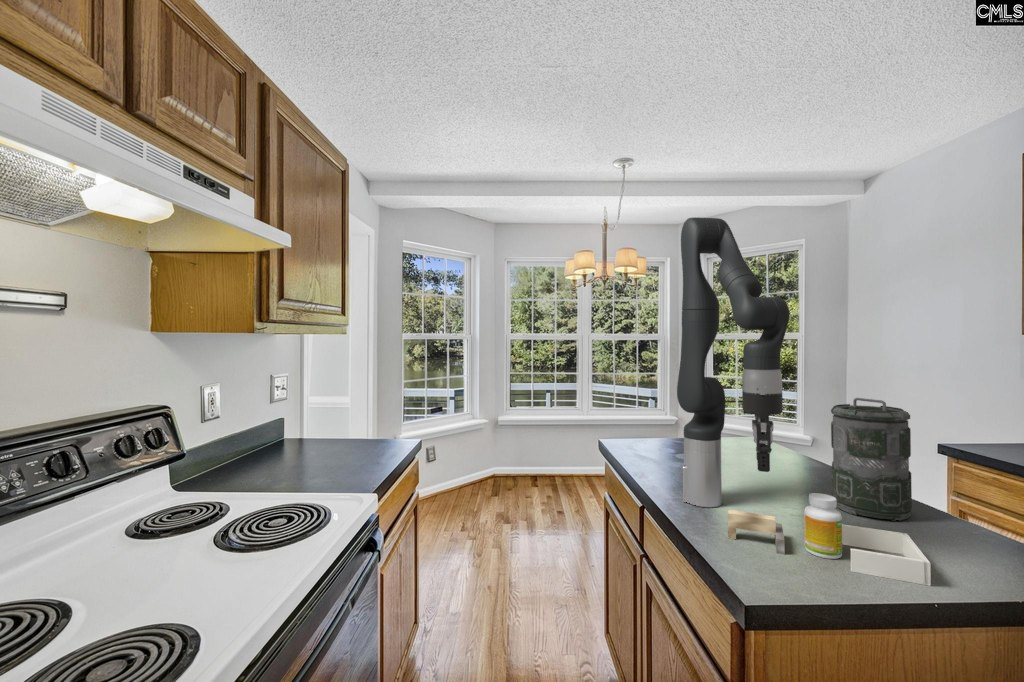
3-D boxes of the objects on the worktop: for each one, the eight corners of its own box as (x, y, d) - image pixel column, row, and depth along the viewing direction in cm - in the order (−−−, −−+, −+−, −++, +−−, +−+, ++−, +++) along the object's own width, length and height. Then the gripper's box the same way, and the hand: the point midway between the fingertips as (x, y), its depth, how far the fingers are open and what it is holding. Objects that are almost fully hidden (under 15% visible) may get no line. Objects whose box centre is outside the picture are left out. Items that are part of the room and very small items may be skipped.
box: (851, 571, 85) (851, 549, 85) (839, 542, 97) (838, 523, 97) (930, 585, 80) (930, 563, 80) (907, 553, 92) (906, 533, 92)
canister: (817, 504, 119) (816, 397, 119) (856, 496, 125) (855, 394, 125) (886, 526, 105) (884, 404, 105) (926, 516, 111) (925, 400, 111)
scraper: (727, 544, 97) (727, 518, 97) (729, 528, 105) (729, 504, 105) (784, 554, 92) (784, 527, 92) (781, 537, 100) (781, 512, 100)
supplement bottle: (843, 562, 88) (842, 504, 88) (805, 555, 91) (804, 498, 91) (840, 550, 93) (840, 494, 93) (804, 543, 97) (804, 489, 97)
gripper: (742, 386, 106) (743, 456, 106) (742, 393, 93) (743, 472, 93) (779, 387, 102) (780, 460, 102) (785, 394, 90) (786, 477, 90)
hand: (762, 466), depth 98 cm, fingers open, 8 cm apart
